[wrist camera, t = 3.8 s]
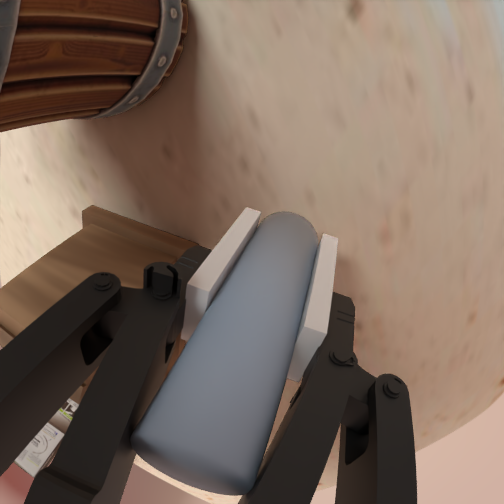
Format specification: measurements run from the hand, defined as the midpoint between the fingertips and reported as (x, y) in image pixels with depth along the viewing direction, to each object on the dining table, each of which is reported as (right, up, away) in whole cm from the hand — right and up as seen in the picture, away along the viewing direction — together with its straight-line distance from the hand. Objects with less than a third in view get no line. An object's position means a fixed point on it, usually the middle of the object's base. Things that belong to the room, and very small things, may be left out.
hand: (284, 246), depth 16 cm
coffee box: (-30, -23, +26) cm, 46 cm away
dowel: (0, 0, 0) cm, 1 cm away
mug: (-12, +14, 0) cm, 19 cm away
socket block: (-11, -4, +9) cm, 15 cm away
